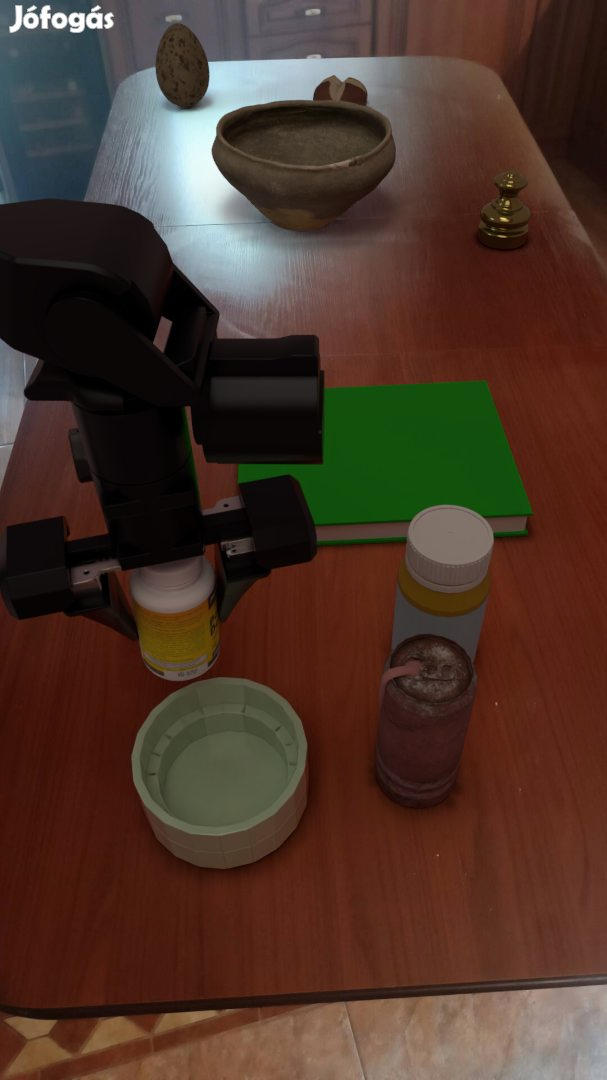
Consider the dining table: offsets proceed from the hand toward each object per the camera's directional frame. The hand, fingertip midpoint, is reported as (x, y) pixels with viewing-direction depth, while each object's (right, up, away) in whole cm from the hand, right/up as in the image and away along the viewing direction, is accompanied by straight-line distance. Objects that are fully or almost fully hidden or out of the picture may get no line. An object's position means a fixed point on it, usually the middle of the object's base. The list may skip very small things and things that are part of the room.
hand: (179, 626), depth 55 cm
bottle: (+20, -4, +13) cm, 24 cm away
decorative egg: (-16, +96, +112) cm, 148 cm away
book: (+16, +14, +31) cm, 37 cm away
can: (+17, -12, +6) cm, 21 cm away
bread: (+16, +95, +110) cm, 146 cm away
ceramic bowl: (+3, -13, +5) cm, 14 cm away
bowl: (+9, +58, +74) cm, 94 cm away
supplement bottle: (0, -2, +2) cm, 3 cm away
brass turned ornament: (+39, +52, +67) cm, 93 cm away
